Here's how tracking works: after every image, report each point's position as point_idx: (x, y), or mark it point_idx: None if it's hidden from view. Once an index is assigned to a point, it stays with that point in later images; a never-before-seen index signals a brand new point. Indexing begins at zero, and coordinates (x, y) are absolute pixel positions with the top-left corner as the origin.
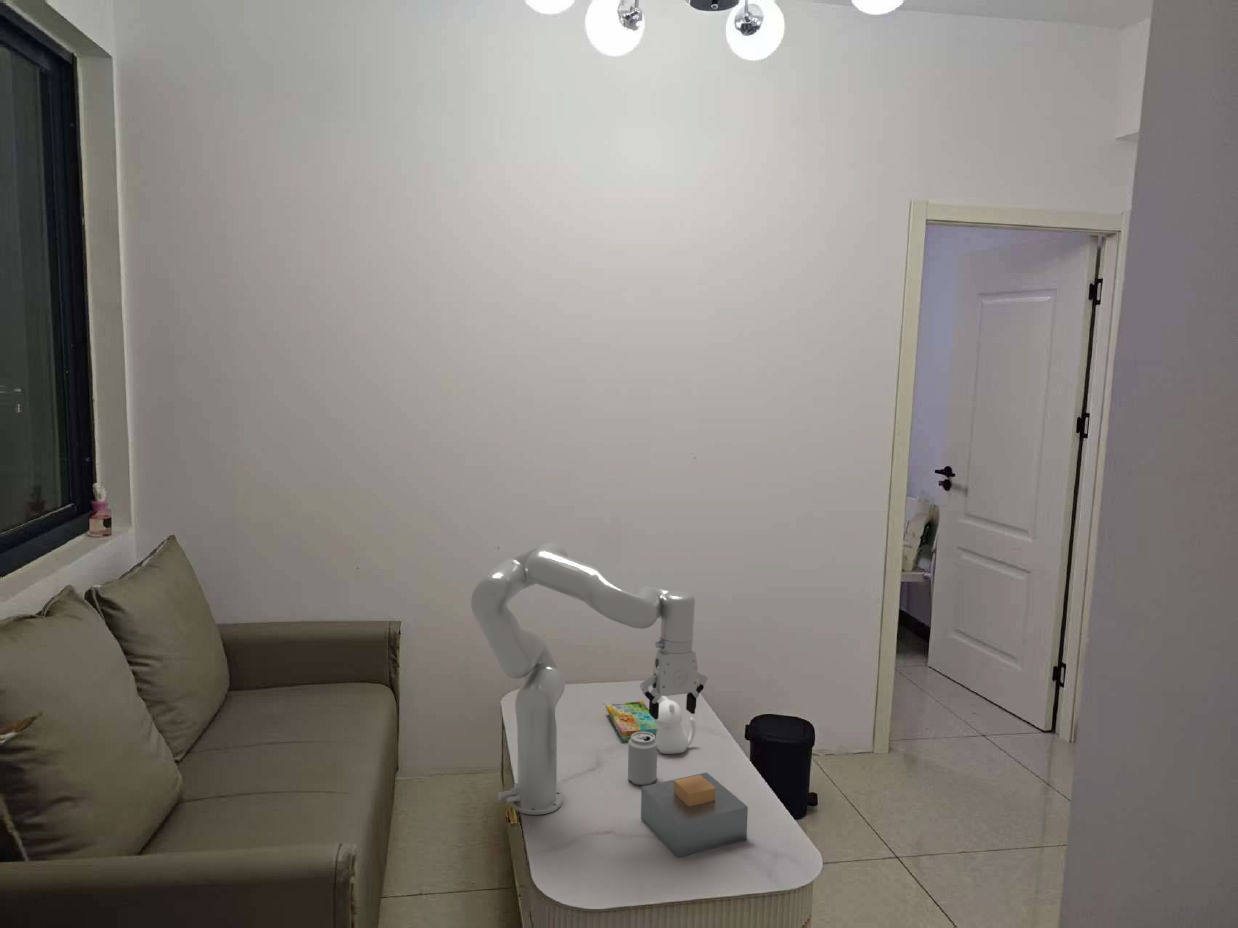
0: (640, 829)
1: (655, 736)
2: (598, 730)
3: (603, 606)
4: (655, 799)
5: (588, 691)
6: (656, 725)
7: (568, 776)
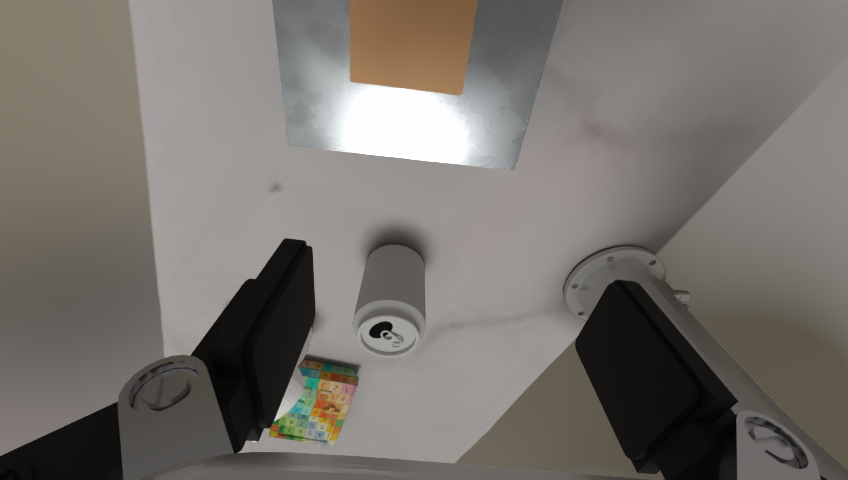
0: None
1: None
2: (373, 402)
3: None
4: (536, 80)
5: None
6: None
7: (504, 324)
